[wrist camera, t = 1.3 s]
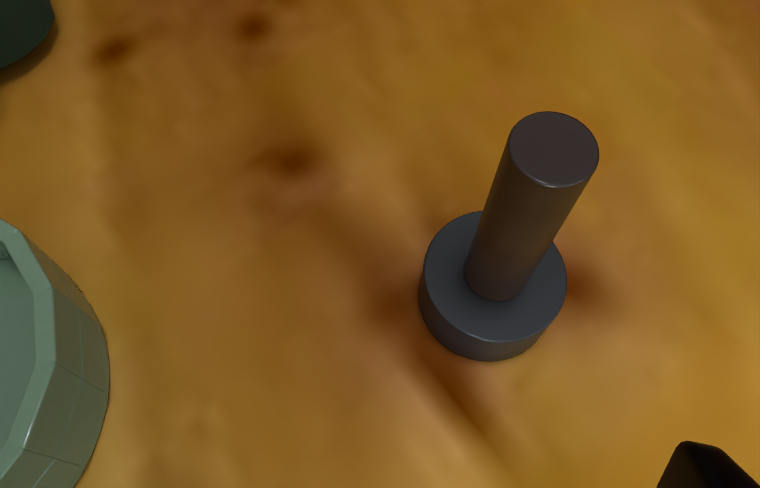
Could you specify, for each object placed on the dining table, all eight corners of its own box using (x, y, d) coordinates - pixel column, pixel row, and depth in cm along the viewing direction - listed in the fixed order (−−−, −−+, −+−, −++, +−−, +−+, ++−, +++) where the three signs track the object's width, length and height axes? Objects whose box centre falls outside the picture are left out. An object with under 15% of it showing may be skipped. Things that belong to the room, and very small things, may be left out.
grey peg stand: (569, 342, 23) (697, 213, 14) (441, 377, 23) (489, 263, 14) (522, 226, 25) (607, 50, 16) (403, 254, 25) (423, 87, 16)
